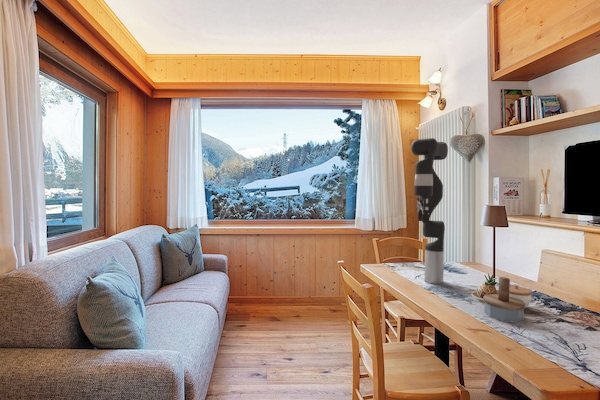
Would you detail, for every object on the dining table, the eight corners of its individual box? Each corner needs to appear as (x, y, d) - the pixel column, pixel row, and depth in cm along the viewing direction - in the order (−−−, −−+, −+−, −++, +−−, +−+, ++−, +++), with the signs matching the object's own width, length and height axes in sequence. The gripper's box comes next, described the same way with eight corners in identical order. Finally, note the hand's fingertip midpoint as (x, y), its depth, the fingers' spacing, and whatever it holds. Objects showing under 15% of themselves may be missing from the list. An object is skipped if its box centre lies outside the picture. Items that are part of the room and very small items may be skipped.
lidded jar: (526, 304, 138) (526, 283, 138) (535, 313, 128) (536, 290, 128) (498, 301, 142) (498, 280, 141) (504, 309, 131) (505, 287, 131)
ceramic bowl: (493, 307, 133) (494, 296, 133) (526, 317, 124) (527, 304, 124) (480, 313, 126) (481, 301, 126) (514, 324, 117) (515, 311, 117)
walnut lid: (491, 294, 135) (492, 271, 134) (530, 304, 124) (531, 279, 123) (477, 301, 126) (477, 277, 126) (517, 312, 115) (518, 285, 115)
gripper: (437, 184, 129) (436, 224, 129) (428, 185, 143) (427, 220, 143) (418, 184, 130) (417, 223, 130) (411, 185, 144) (410, 220, 144)
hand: (422, 221), depth 137 cm, fingers open, 8 cm apart
